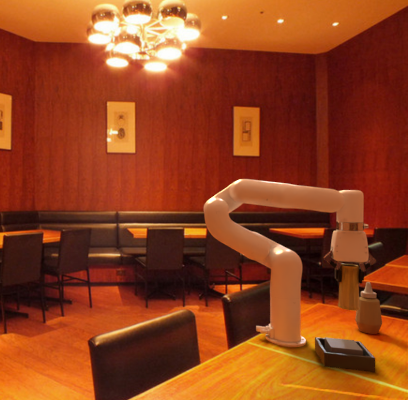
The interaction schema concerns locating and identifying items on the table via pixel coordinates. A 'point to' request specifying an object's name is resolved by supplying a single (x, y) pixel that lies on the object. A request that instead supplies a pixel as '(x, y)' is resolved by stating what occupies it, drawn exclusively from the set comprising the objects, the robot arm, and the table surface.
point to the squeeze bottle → (369, 312)
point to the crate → (345, 358)
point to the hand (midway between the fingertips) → (349, 281)
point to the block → (342, 346)
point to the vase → (349, 287)
